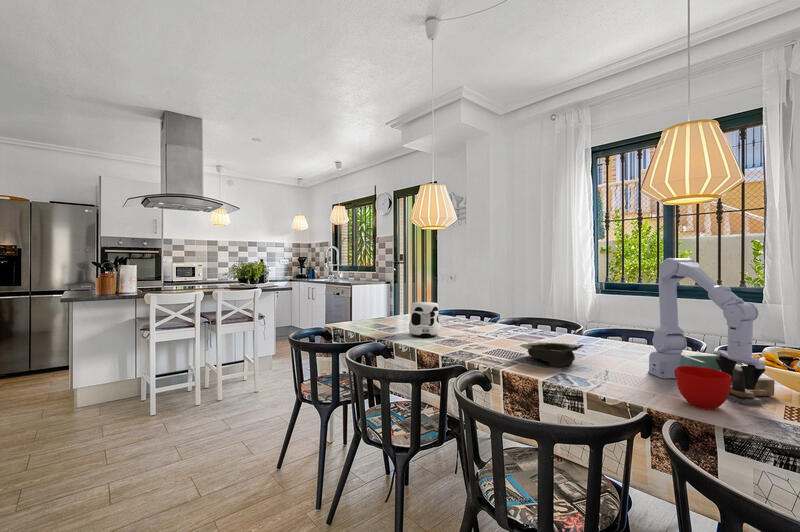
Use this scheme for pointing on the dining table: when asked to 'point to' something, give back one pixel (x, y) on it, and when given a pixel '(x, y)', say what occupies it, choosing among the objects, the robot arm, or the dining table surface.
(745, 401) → the rail
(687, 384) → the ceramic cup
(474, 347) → the dining table surface
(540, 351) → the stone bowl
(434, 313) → the milk container
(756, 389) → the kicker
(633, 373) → the dining table surface
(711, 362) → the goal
